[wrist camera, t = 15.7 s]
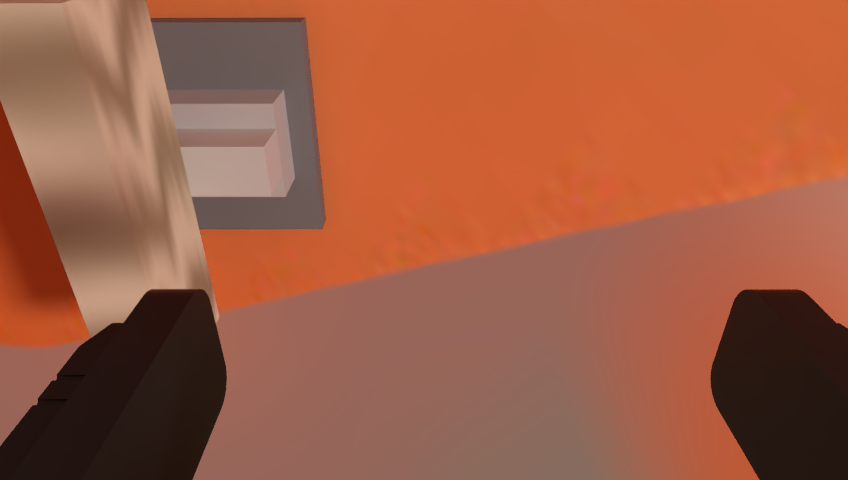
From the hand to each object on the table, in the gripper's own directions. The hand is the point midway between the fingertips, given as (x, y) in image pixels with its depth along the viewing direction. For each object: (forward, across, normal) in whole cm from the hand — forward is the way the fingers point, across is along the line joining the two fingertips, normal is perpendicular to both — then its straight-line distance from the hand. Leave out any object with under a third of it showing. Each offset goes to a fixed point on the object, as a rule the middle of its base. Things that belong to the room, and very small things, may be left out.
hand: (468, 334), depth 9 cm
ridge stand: (+30, +16, +7) cm, 35 cm away
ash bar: (+23, +16, +7) cm, 29 cm away
